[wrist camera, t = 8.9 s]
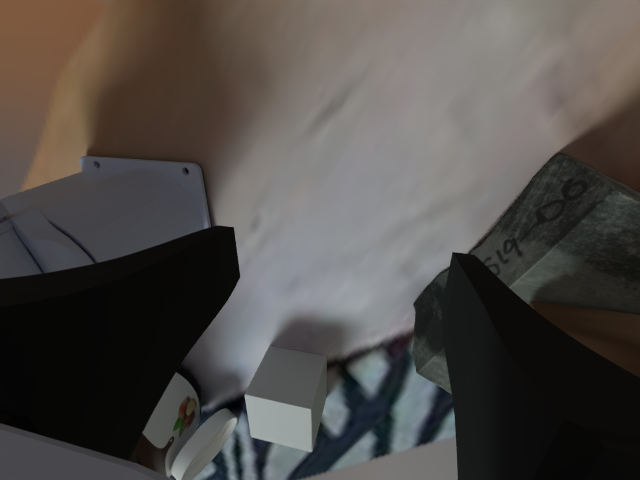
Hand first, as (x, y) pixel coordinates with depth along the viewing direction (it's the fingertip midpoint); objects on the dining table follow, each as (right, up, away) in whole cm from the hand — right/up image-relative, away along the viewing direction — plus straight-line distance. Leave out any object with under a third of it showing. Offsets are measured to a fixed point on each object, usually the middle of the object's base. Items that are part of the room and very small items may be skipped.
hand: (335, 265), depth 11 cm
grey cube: (-2, -11, +18) cm, 21 cm away
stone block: (+12, -1, +10) cm, 16 cm away
